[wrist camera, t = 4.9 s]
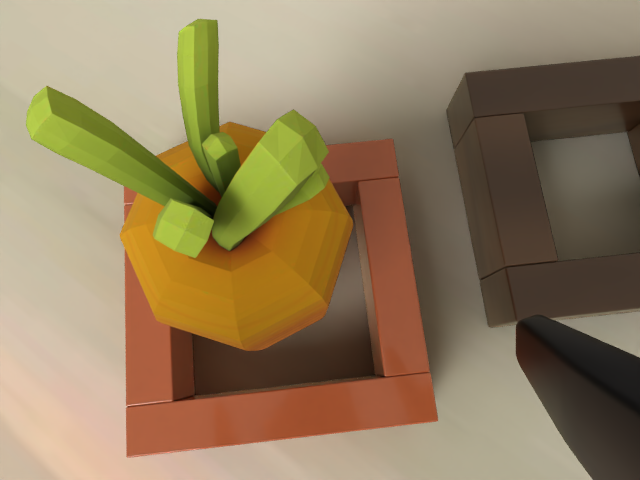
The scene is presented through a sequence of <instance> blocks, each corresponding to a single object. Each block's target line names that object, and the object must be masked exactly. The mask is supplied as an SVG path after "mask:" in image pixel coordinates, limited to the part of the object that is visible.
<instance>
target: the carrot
mask: <svg viewBox="0 0 640 480" xmlns="http://www.w3.org/2000/svg"><path fill="white" fill-rule="evenodd" d="M218 49H219V44H218V23H217V20H207V19H197V20H196V21H194V22H192V23H191V24H189V25H187V26H186V27H184V28H183V29H182V30H181V31H179V37H178V52H177V62H178V86H179V93H180V100H181V106H182V113H183V119H184V124H185V129H186V134H187V139H188V141H187V142H185V143H183V144H180V145H178V146H176V147H174V148H172V149H170V150H167V151H165V152H163V153H161V154H159V155H157V156H155V155H153V154H152V153H151V152H150V151H148V150H147V149H146V148H144V147H143V146H142V145H141V144H139V143H138V142H137V141H135V140H134V139H133V138H132V137H130V136H129V135H128V134H127V133H125V132H124V131H123V130H121V129H120V128H119V127H118V126H116V125H115V124H114V123H112V122H111V121H109V120H108V119H106V118H105V117H103V116H101V115H100V114H98V113H97V112H95V111H93V110H92V109H90V108H89V107H87V106H85V105H84V104H82V103H81V102H79V101H77V100H76V99H74V98H72V97H70V96H68V95H65V94H63V93H61V92H59V91H57V90H55V89H53V88H50V87H48V86H46V87H45V88H43V89H42V90H41V91H40V92H38V93H37V94H36V95H35V96H34V97H33V100H32V102H31V104H30V106H29V109H28V111H27V120H26V126H27V129H28V131H29V134H30V136H31V139H32V140H34V141H36V142H37V143H39V144H41V145H43V146H44V147H46V148H48V149H50V150H52V151H53V152H55V153H57V154H59V155H61V156H63V157H66V158H68V159H70V160H72V161H74V162H76V163H78V164H81V165H83V166H85V167H87V168H89V169H91V170H93V171H95V172H97V173H99V174H101V175H103V176H105V177H107V178H109V179H111V180H113V181H115V182H117V183H119V184H121V185H123V186H125V187H127V188H129V189H131V190H133V191H135V192H137V196H136V198H135V200H134V203H133V205H132V207H131V210H130V212H129V214H128V217H127V219H126V221H125V223H124V226H123V228H122V230H121V233H120V238H121V241H122V243H123V245H124V247H125V250H126V252H127V254H128V257H129V259H130V261H131V263H132V266H133V268H134V270H135V273H136V275H137V277H138V279H139V282H140V284H141V286H142V289H143V291H144V293H145V296H146V298H147V300H148V302H149V305H150V307H151V309H152V312H153V314H154V316H155V318H156V320H157V321H158V322H160V323H162V324H165V325H168V326H171V327H175V328H178V329H181V330H184V331H187V332H190V333H193V334H196V335H199V336H202V337H205V338H208V339H212V340H215V341H218V342H221V343H224V344H227V345H230V346H233V347H236V348H239V349H242V350H246V351H258V350H262V349H266V348H268V347H269V346H271V345H273V344H275V343H277V342H279V341H281V340H283V339H285V338H286V337H288V336H290V335H292V334H294V333H296V332H298V331H300V330H302V329H303V328H305V327H307V326H309V325H311V324H313V323H315V322H317V321H319V320H320V319H322V318H323V317H324V316H325V314H326V312H327V309H328V306H329V303H330V300H331V297H332V293H333V290H334V287H335V284H336V280H337V277H338V274H339V271H340V267H341V264H342V261H343V258H344V254H345V251H346V248H347V245H348V241H349V238H350V235H351V231H352V228H353V220H352V218H351V216H350V215H349V213H348V211H347V209H346V207H345V206H344V204H343V202H342V200H341V199H340V197H339V195H338V193H337V192H336V190H335V188H334V186H333V184H332V183H331V181H330V179H329V178H330V177H329V175H328V174H327V172H326V170H325V168H324V167H323V165H322V164H321V162H322V161H323V160H324V158H325V157H326V155H327V154H328V153H329V151H328V149H327V147H326V145H325V143H324V141H323V139H322V137H321V135H320V134H319V132H318V130H317V128H316V126H315V125H313V124H312V123H311V122H309V121H308V120H307V119H306V118H304V117H303V116H302V115H300V114H299V113H298V112H296V111H295V110H294V109H293V110H292V111H290V112H288V113H287V114H285V115H283V116H282V117H280V118H278V119H277V120H276V121H275V123H274V124H273V125H272V126H271V127H270V129H269V130H268V131H267V132H264V131H260V130H257V129H253V128H250V127H246V126H243V125H239V124H236V123H232V122H228V123H226V124H224V125H221V126H219V109H218Z"/></svg>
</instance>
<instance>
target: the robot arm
mask: <svg viewBox="0 0 640 480" xmlns="http://www.w3.org/2000/svg"><path fill="white" fill-rule="evenodd" d="M516 356H517V360H518V362H519V365H520V367H521V368H522V370H523V372H524V373H525V375H526V377H527V378H528V380H529V382H530V384H531V385H532V387H533V389H534V390H535V392H536V394H537V395H538V397H539V399H540V400H541V402H542V404H543V406H544V407H545V409H546V411H547V412H548V414H549V416H550V417H551V419H552V421H553V422H554V424H555V426H556V428H557V429H558V431H559V432H560V434H561V436H562V437H563V439H564V440H565V442H566V443H567V445H568V446H569V448H570V449H571V451H572V452H573V453H574V455H575V456H576V457H577V459H578V460H579V462H580V463H581V464H582V466H583V467H584V468H585V470H586V471H587V472H588V474H589V475H590V476H591V478H592V479H593V480H640V358H639V357H637V356H635V355H632V354H630V353H628V352H625V351H623V350H621V349H619V348H616V347H614V346H612V345H609V344H607V343H605V342H603V341H600V340H598V339H596V338H593V337H591V336H589V335H587V334H584V333H582V332H580V331H578V330H575V329H573V328H571V327H568V326H566V325H564V324H562V323H559V322H557V321H555V320H552V319H550V318H548V317H546V316H543V315H534V316H530V317H527V318H524V319H521V320H519V321H518V322H517V324H516Z"/></svg>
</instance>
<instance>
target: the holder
mask: <svg viewBox="0 0 640 480" xmlns="http://www.w3.org/2000/svg"><path fill="white" fill-rule="evenodd" d="M326 147H327V149H328V151H329V153H328V154H327V155H326V157H325V158H324V160H323V161H322V162H321V164H322V165H323V167H324V168H325V170H326V172H327V174H328V175H329V177H330V178H329V179H330V181H331V183H332V184H333V186H334V188H335V190H336V192H337V193H338V195H339V197H340V199H341V200H342V202H343V204H344V206H350V205H353V213H354V220H355V228H356V235H357V243H358V250H359V258H360V265H361V273H362V280H363V288H364V296H365V303H366V311H367V318H368V326H369V333H370V341H371V348H372V356H373V363H374V371H375V374H376V375H373V376H364V377H356V378H347V379H338V380H329V381H320V382H312V383H303V384H294V385H285V386H277V387H268V388H259V389H250V390H242V391H233V392H224V393H215V394H207V395H198V396H194V395H195V386H194V363H193V340H192V333H190V332H187V331H184V330H181V329H178V328H175V327H171V326H168V325H165V324H162V323H160V322H158V321H157V320H156V318H155V316H154V314H153V312H152V309H151V307H150V305H149V302H148V300H147V298H146V296H145V293H144V291H143V289H142V286H141V284H140V282H139V279H138V277H137V275H136V273H135V270H134V268H133V266H132V263H131V261H130V259H129V257H128V254H127V252H126V250H125V329H126V406H128V407H127V408H126V443H127V457H128V458H130V457H138V456H147V455H155V454H164V453H172V452H181V451H189V450H198V449H206V448H215V447H223V446H232V445H240V444H249V443H258V442H266V441H275V440H283V439H292V438H300V437H309V436H317V435H326V434H334V433H343V432H351V431H360V430H368V429H377V428H385V427H394V426H402V425H411V424H419V423H428V422H436V421H438V415H437V409H436V403H435V397H434V390H433V384H432V378H431V373H430V372H429V371H430V367H429V360H428V354H427V348H426V342H425V335H424V329H423V323H422V317H421V310H420V304H419V298H418V292H417V285H416V279H415V273H414V267H413V260H412V254H411V248H410V242H409V235H408V229H407V223H406V217H405V211H404V204H403V198H402V192H401V186H400V179H399V178H398V177H399V172H398V166H397V160H396V153H395V147H394V141H393V139H384V140H374V141H364V142H354V143H344V144H334V145H326ZM136 196H137V192H135V191H133V190H131V189H129V188H127V187H125V186H124V204H125V206H124V223H125V221H126V219H127V217H128V214H129V212H130V210H131V207H132V205H133V203H134V200H135V198H136Z"/></svg>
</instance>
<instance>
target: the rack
mask: <svg viewBox="0 0 640 480" xmlns="http://www.w3.org/2000/svg"><path fill="white" fill-rule="evenodd" d="M446 111H447V116H448V121H449V127H450V132H451V137H452V142H453V147H454V149H455V150H454V151H455V157H456V162H457V167H458V172H459V177H460V182H461V188H462V193H463V198H464V203H465V208H466V214H467V219H468V224H469V229H470V234H471V239H472V245H473V250H474V255H475V260H476V265H477V271H478V276H479V279H480V286H481V291H482V296H483V301H484V306H485V311H486V317H487V322H488V326H489V327H490V328H494V327H503V326H511V325H516V324H517V322H518V321H519V320H521V319H524V318H527V317H530V316H534V315H543V316H546V317H548V318H550V319H552V320H555V321H556V320H565V319H574V318H583V317H592V316H601V315H610V314H618V313H627V312H636V311H640V252H639V253H630V254H621V255H612V256H602V257H593V258H584V259H575V260H565V261H558V257H557V252H556V248H555V244H554V240H553V235H552V231H551V227H550V223H549V218H548V214H547V210H546V206H545V201H544V197H543V193H542V189H541V185H540V180H539V176H538V172H537V168H536V163H535V159H534V155H533V151H532V146H531V141H541V140H551V139H560V138H570V137H580V136H590V135H600V134H610V133H620V132H627V134H628V137H629V141H630V144H631V148H632V151H633V155H634V158H635V161H636V165H637V168H638V172H639V175H640V56H634V57H623V58H613V59H603V60H592V61H582V62H572V63H561V64H551V65H540V66H530V67H520V68H509V69H499V70H489V71H478V72H468V73H465V74H464V76H463V78H462V80H461V82H460V84H459V86H458V88H457V90H456V92H455V94H454V96H453V98H452V100H451V102H450V104H449V106H448V108H447V110H446Z"/></svg>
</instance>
